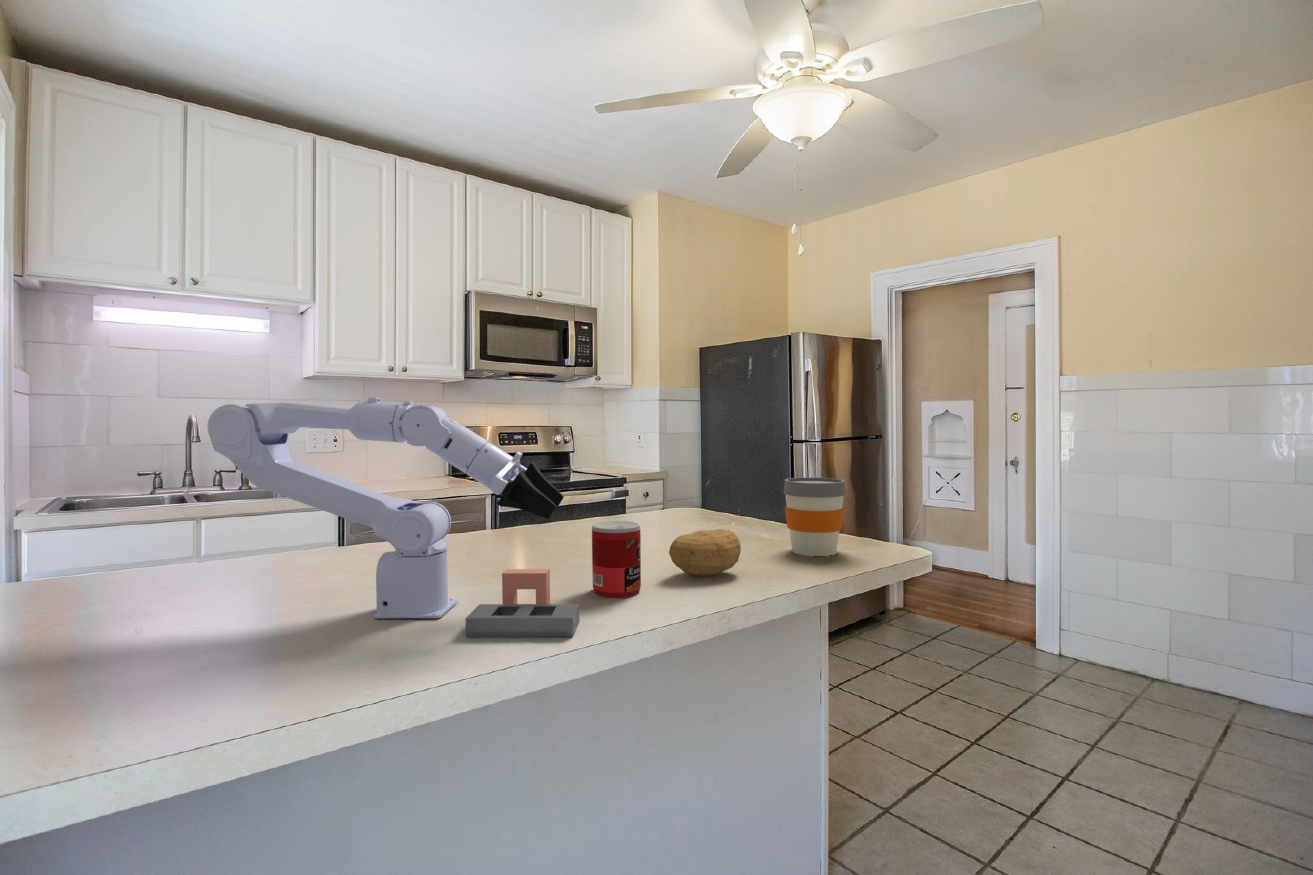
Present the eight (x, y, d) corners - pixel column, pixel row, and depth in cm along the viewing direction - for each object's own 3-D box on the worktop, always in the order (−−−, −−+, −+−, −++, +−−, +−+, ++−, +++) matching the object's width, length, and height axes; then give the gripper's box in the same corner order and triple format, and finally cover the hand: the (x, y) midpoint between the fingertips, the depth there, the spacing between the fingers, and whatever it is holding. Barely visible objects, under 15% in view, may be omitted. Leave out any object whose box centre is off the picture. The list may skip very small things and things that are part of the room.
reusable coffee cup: (858, 553, 128) (858, 481, 127) (815, 561, 121) (815, 485, 121) (813, 543, 139) (813, 476, 138) (771, 550, 132) (771, 479, 131)
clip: (502, 609, 93) (502, 573, 92) (507, 604, 95) (506, 569, 95) (546, 609, 93) (546, 573, 92) (550, 603, 95) (549, 568, 95)
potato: (657, 574, 112) (657, 530, 112) (721, 565, 119) (721, 523, 119) (685, 587, 104) (685, 540, 103) (753, 576, 110) (753, 531, 110)
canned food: (635, 599, 97) (634, 529, 97) (586, 596, 99) (585, 528, 98) (645, 586, 105) (645, 521, 104) (600, 584, 106) (599, 520, 106)
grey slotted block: (465, 637, 81) (465, 618, 81) (479, 621, 87) (479, 604, 87) (573, 637, 81) (572, 617, 81) (579, 621, 87) (579, 603, 87)
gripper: (478, 439, 84) (564, 493, 85) (504, 432, 99) (576, 477, 99) (451, 483, 85) (536, 536, 85) (481, 469, 99) (553, 514, 100)
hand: (556, 507), depth 92 cm, fingers open, 7 cm apart
